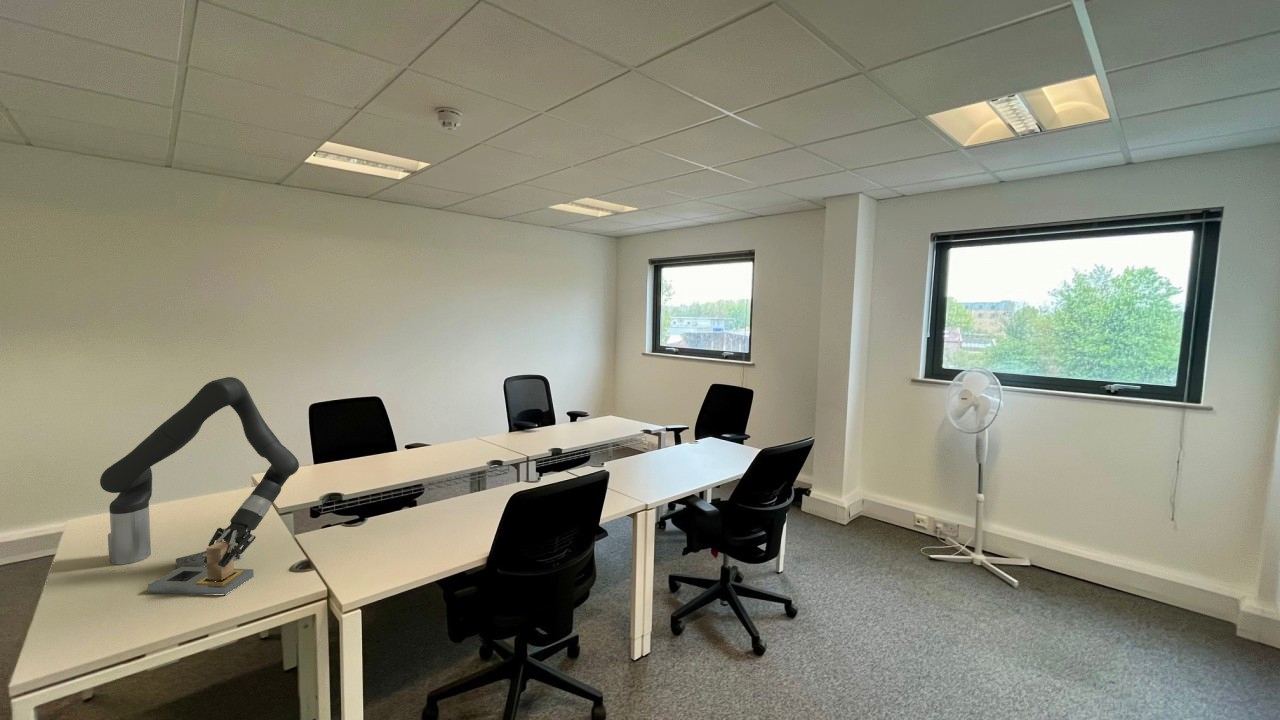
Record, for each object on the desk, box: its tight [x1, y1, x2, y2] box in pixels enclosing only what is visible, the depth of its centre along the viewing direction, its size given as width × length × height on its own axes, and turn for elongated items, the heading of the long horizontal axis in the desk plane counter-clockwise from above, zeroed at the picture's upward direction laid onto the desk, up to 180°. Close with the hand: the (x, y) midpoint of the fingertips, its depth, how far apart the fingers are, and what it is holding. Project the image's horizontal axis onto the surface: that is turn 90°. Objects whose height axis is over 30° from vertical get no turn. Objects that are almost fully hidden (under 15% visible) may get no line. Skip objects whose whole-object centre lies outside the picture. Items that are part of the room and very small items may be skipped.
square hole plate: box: [147, 566, 255, 596], centre depth 155 cm, size 23×11×3 cm, turn 90°
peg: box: [205, 541, 235, 581], centre depth 154 cm, size 4×4×10 cm
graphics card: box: [175, 548, 245, 569], centre depth 170 cm, size 17×4×12 cm
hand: (213, 564), depth 153 cm, fingers closed on peg, 5 cm apart
